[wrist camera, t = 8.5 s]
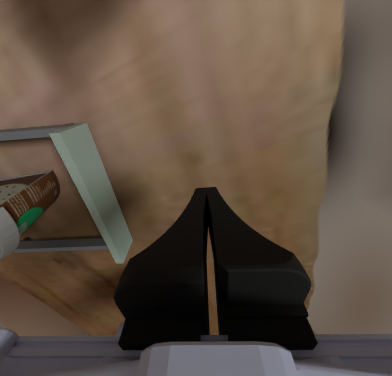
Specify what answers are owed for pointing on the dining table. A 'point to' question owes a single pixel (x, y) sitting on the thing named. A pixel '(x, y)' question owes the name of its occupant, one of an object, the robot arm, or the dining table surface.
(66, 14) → the dining table surface
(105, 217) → the grey u-shaped frame
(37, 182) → the food container
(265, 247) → the robot arm
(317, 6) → the dining table surface
